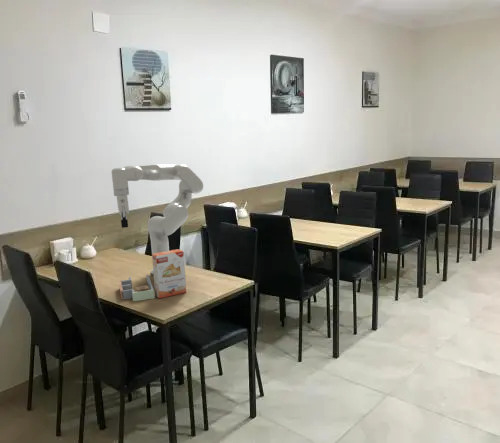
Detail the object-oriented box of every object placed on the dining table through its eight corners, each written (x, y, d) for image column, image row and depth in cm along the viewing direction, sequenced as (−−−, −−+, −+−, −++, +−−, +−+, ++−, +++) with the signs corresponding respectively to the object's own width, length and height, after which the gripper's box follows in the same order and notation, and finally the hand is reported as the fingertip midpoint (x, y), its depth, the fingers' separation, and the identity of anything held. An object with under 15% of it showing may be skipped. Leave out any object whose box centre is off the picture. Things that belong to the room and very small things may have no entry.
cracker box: (159, 299, 226) (155, 255, 222) (155, 295, 231) (151, 253, 227) (187, 292, 233) (183, 250, 229) (182, 289, 238) (178, 248, 234)
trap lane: (148, 282, 253) (148, 274, 252) (154, 298, 228) (154, 289, 227) (119, 286, 249) (118, 278, 248) (122, 302, 224) (121, 294, 223)
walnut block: (148, 295, 233) (147, 285, 232) (149, 298, 228) (148, 288, 227) (137, 296, 231) (136, 286, 230) (138, 300, 227) (137, 289, 226)
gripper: (129, 193, 242) (133, 228, 246) (127, 190, 257) (131, 224, 260) (114, 194, 240) (118, 230, 244) (113, 191, 254) (116, 225, 258)
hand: (124, 227), depth 252 cm, fingers closed
